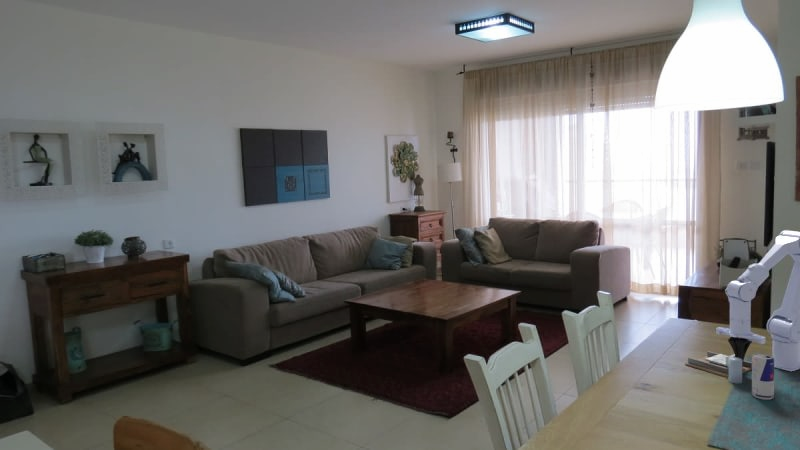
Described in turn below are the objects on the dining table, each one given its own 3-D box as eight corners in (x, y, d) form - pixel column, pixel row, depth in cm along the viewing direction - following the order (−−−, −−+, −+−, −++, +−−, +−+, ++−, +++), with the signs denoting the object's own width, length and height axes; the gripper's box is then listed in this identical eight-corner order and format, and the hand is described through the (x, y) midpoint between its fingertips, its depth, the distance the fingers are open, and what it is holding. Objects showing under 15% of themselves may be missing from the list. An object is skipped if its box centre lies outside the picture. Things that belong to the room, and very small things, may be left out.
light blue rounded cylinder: (733, 378, 181) (733, 356, 180) (744, 381, 178) (744, 359, 177) (726, 380, 179) (726, 358, 178) (737, 384, 176) (737, 361, 175)
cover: (720, 355, 195) (720, 346, 194) (744, 361, 188) (744, 352, 187) (705, 360, 191) (705, 351, 190) (729, 367, 184) (729, 358, 183)
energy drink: (777, 400, 163) (777, 359, 162) (756, 400, 164) (756, 358, 163) (769, 393, 168) (769, 353, 167) (748, 392, 169) (749, 352, 168)
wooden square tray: (711, 356, 201) (711, 350, 201) (755, 368, 188) (755, 361, 187) (685, 365, 194) (685, 358, 194) (729, 378, 181) (729, 371, 181)
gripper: (710, 316, 188) (710, 357, 189) (756, 326, 175) (756, 369, 176) (723, 312, 191) (723, 352, 192) (769, 321, 178) (769, 364, 180)
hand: (739, 360), depth 185 cm, fingers closed
